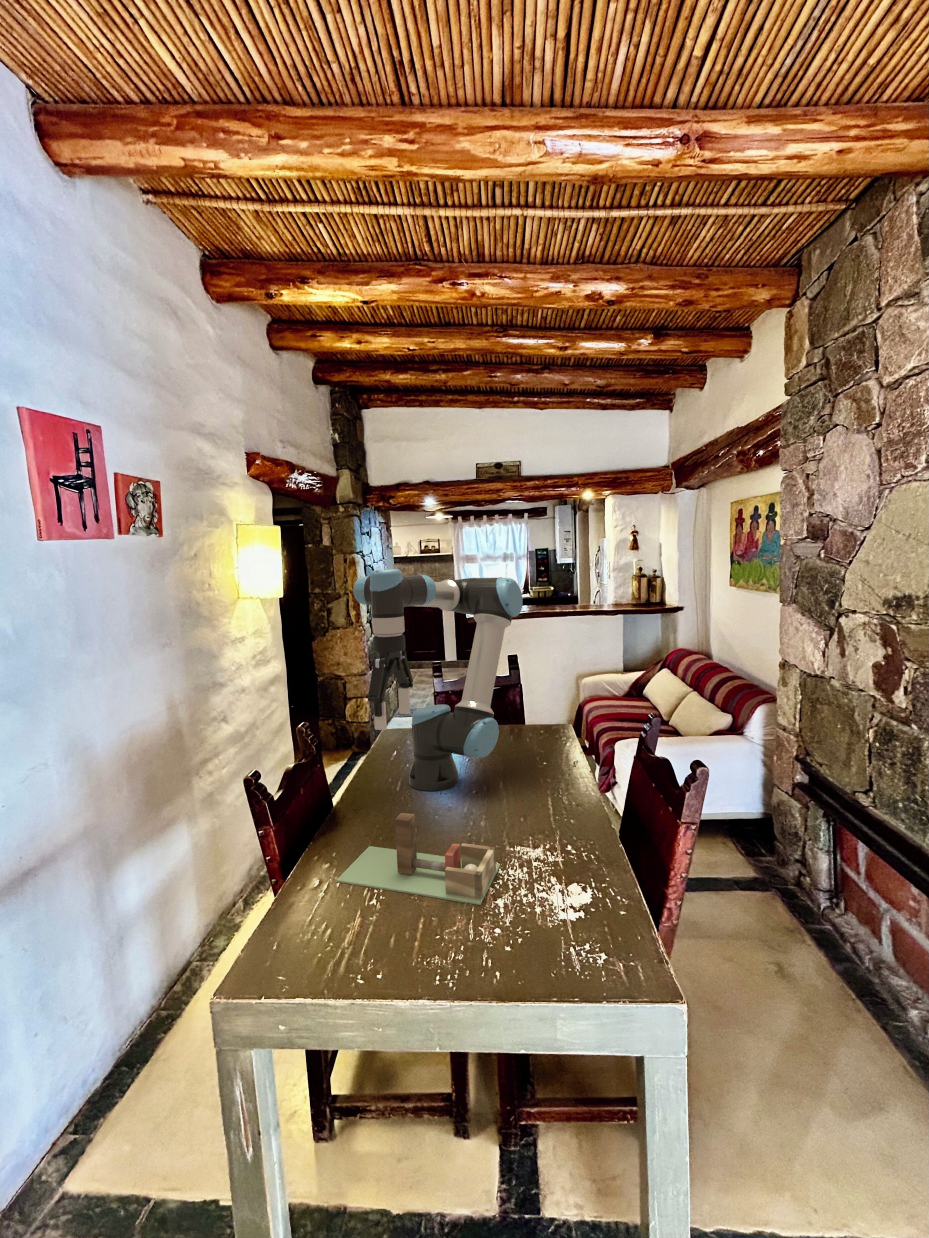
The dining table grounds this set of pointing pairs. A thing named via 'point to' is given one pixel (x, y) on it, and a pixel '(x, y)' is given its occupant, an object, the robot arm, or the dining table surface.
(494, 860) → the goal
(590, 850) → the dining table surface
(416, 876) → the mat
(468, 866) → the ball
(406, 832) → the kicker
